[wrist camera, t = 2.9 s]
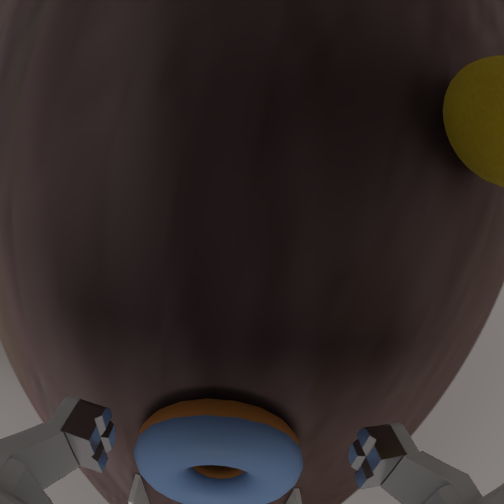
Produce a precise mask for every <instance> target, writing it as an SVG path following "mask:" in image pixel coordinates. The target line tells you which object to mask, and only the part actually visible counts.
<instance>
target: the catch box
mask: <svg viewBox="0 0 504 504" xmlns="http://www.w3.org/2000/svg"><path fill="white" fill-rule="evenodd" d="M128 503H129V504H150V502H149V500H148V497H147V494H146V491H145V488H144V485H143V482H142V479H141V476H140V475H138V474H135V478H134V481H133V485H132V489H131V492H130V496H129V500H128ZM286 504H302V502H301V496H300V491H299V488H295V489H294V490H293V492H292V493H291V495H290V497H289V499H288V500H287V502H286Z"/></svg>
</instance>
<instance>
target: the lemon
mask: <svg viewBox="0 0 504 504" xmlns="http://www.w3.org/2000/svg"><path fill="white" fill-rule="evenodd" d="M443 121H444V125H445V130H446V134H447V136H448V139H449V142H450V144H451V146H452V147H453V149H454V151H455V153H456V154H457V156H458V157H459V158H460V159H461V161H462V162H463V163H464V164H465V165H466V166H467V167H468V168H469V169H470V170H471V171H473V172H474V173H475V174H476V175H478V176H479V177H480V178H482V179H484V180H486V181H488V182H490V183H493V184H496V185H498V186H501V187H504V55H498V56H490V57H486V58H483V59H480V60H477V61H474V62H472V63H470V64H468V65H466V66H465V67H464V68H462V69H461V70H460V71H459V72H458V73H457V74H456V76H455V77H454V78H453V79H452V80H451V82H450V84H449V86H448V89H447V91H446V94H445V97H444V105H443Z"/></svg>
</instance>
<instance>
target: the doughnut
mask: <svg viewBox="0 0 504 504" xmlns="http://www.w3.org/2000/svg"><path fill="white" fill-rule="evenodd" d="M134 457H135V460H136V463H137V466H138V469H139V472H140V474H141V475H142V476H143V478H144V479H145V480H146V481H147V482H148V483H149V484H150V485H151V486H152V487H153V488H154V489H155V490H157V491H158V492H160V493H162V494H163V495H165V496H167V497H168V498H170V499H173V500H175V501H178V502H181V503H183V504H267V503H270V502H272V501H274V500H276V499H279V498H280V497H282V496H283V495H284V494H285V493H286V492H288V491H289V490H290V489H291V488H292V487H293V486H295V484H296V482H297V480H298V478H299V475H300V473H301V471H302V469H303V459H302V454H301V449H300V444H299V440H298V438H297V436H296V434H295V433H294V432H293V431H292V430H291V428H290V427H289V426H288V425H287V424H286V423H285V422H284V421H283V420H282V419H281V418H279V417H278V416H276V415H274V414H272V413H270V412H268V411H266V410H265V409H263V408H261V407H257V406H253V405H250V404H246V403H242V402H239V401H235V400H221V399H210V398H205V399H197V400H187V401H180V402H178V403H175V404H172V405H169V406H167V407H164V408H161V409H160V410H158V411H156V412H155V413H154V414H153V415H152V416H151V417H150V418H148V419H147V420H146V421H145V422H144V423H143V424H142V426H141V428H140V430H139V434H138V437H137V440H136V445H135V449H134Z"/></svg>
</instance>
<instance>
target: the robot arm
mask: <svg viewBox="0 0 504 504" xmlns="http://www.w3.org/2000/svg"><path fill="white" fill-rule="evenodd" d="M111 417H112V414H111V410H110V409H109V408H107V407H103V406H100V405H97V404H94V403H91V402H88V401H85V400H82V399H79V398H76V397H73V396H71V395H68V396H66V397H65V398H64V399H63V401H62V402H61V404H60V405H59V407H58V408H57V409H56V411H55V412H54V414H53V415H52V417H51V418H50V420H49V421H48V423H47V424H46V425H45V424H43V423H42V424H40V425H37V426H35V427H32V428H30V429H27V430H24V431H22V432H19V433H17V434H14V435H11V436H8V437H5V438H3V439H0V504H53V503H52V501H51V500H50V498H49V497H48V496H47V494H45V492H44V491H43V490H44V489H45V488H47V487H48V486H50V485H51V484H53V483H55V482H56V481H58V480H60V479H61V478H63V477H64V476H66V475H67V474H69V473H70V472H72V471H73V470H75V469H77V468H78V467H79V465H80V466H83V467H86V468H89V469H92V470H95V471H98V472H101V473H102V472H103V470H104V467H105V465H106V462H107V460H108V457H107V454H106V452H108V451H110V450H111V449H112V447H113V445H114V441H115V426H114V424H113V423H112V422H111V421H110V419H111ZM357 436H358V439H357V440H356V441H355V442H353V443H352V445H351V447H350V449H349V462H350V465H351V467H353V468H354V469H355V470H357V471H356V473H355V475H354V476H355V479H356V481H357V484H358V487H359V489H364V488H370V487H375V486H380V485H381V487H382V488H383V489H384V490H385V491H387V492H388V493H389V494H390V495H391V496H393V497H394V498H395V499H396V500H398V501H399V502H400V503H401V504H504V483H503V484H502V485H501V486H499V487H498V488H496V489H494V490H493V491H491V492H490V493H488V494H487V495H485V496H483V497H482V495H481V494H480V492H479V491H478V489H477V487H476V486H475V484H474V483H473V481H472V480H471V478H470V476H469V475H468V474H466V473H464V472H462V471H460V470H458V469H456V468H454V467H452V466H450V465H448V464H446V463H444V462H442V461H440V460H438V459H436V458H435V457H433V456H431V455H429V454H427V453H425V452H424V451H421V452H419V450H418V449H417V447H416V445H415V444H414V442H413V440H412V439H411V437H410V435H409V434H408V432H407V430H406V429H405V427H404V425H403V424H402V423H400V422H398V423H392V424H387V425H386V424H385V425H378V426H371V427H364V428H362V429H360V430H359V432H358V434H357Z"/></svg>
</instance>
